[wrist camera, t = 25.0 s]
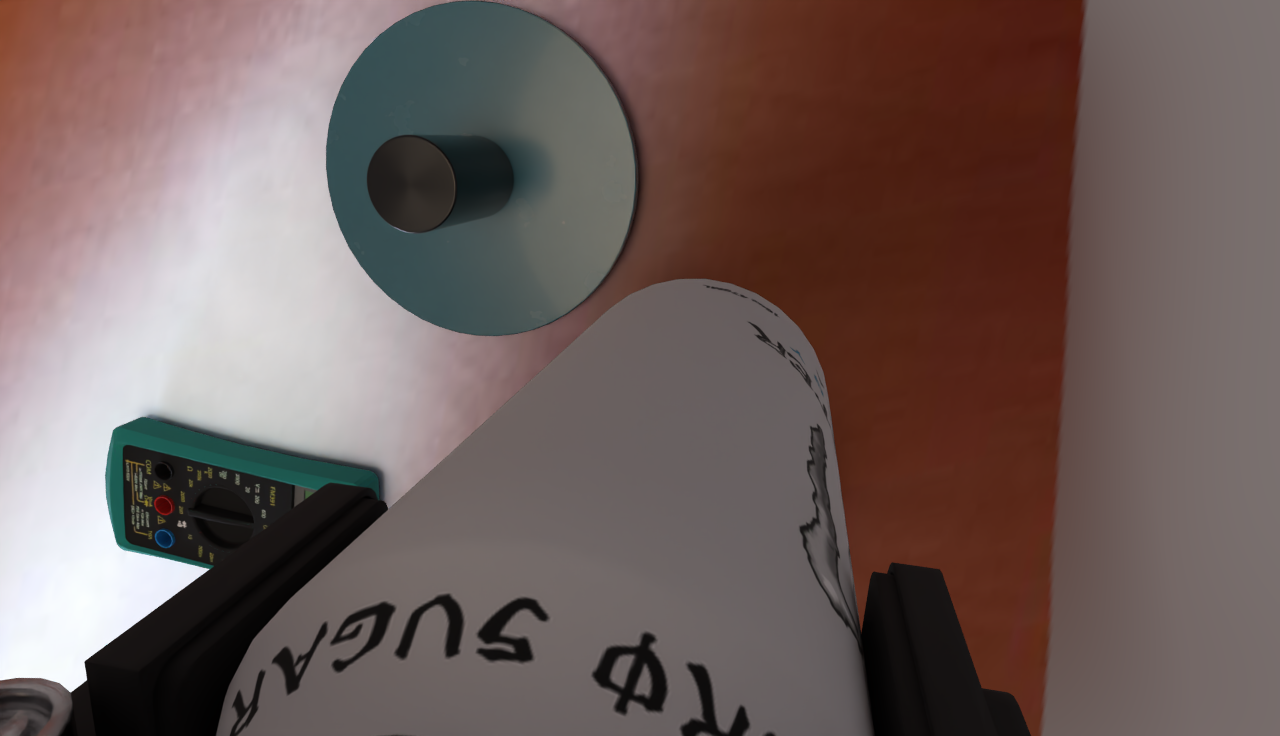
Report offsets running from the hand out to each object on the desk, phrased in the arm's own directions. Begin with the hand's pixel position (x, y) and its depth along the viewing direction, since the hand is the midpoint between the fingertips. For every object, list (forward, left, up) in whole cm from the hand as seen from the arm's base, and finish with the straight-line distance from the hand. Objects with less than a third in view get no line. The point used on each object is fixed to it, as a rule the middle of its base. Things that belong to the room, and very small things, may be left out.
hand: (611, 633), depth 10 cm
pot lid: (+12, -4, -27) cm, 30 cm away
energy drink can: (0, 0, -10) cm, 10 cm away
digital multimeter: (+25, +14, -28) cm, 40 cm away
